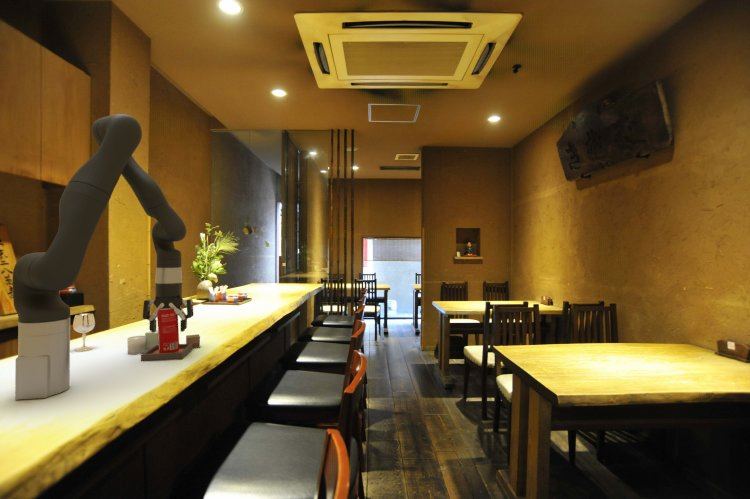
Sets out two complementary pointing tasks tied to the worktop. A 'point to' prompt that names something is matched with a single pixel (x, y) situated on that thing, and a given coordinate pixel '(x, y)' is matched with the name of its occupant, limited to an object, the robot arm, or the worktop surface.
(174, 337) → the beverage can
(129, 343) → the beige block
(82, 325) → the wineglass
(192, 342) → the walnut block
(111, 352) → the worktop surface
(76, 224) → the robot arm
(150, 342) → the sage painted block
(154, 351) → the lacquer tray
